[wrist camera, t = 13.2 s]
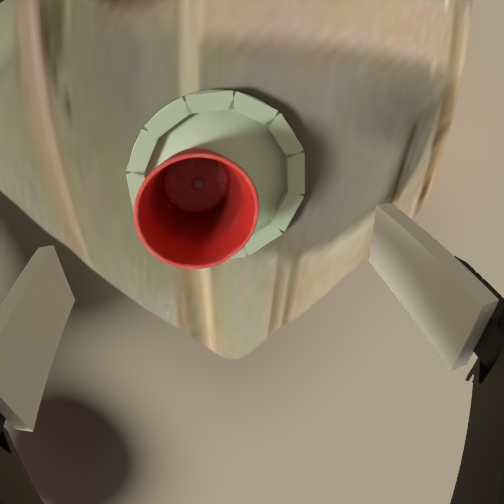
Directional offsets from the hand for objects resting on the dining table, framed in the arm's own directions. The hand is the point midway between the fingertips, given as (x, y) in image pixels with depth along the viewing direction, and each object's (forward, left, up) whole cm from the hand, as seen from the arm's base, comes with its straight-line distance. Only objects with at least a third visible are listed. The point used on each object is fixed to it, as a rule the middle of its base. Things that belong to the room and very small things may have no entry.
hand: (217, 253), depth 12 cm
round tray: (+1, -4, -25) cm, 26 cm away
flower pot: (-1, -4, -24) cm, 25 cm away
